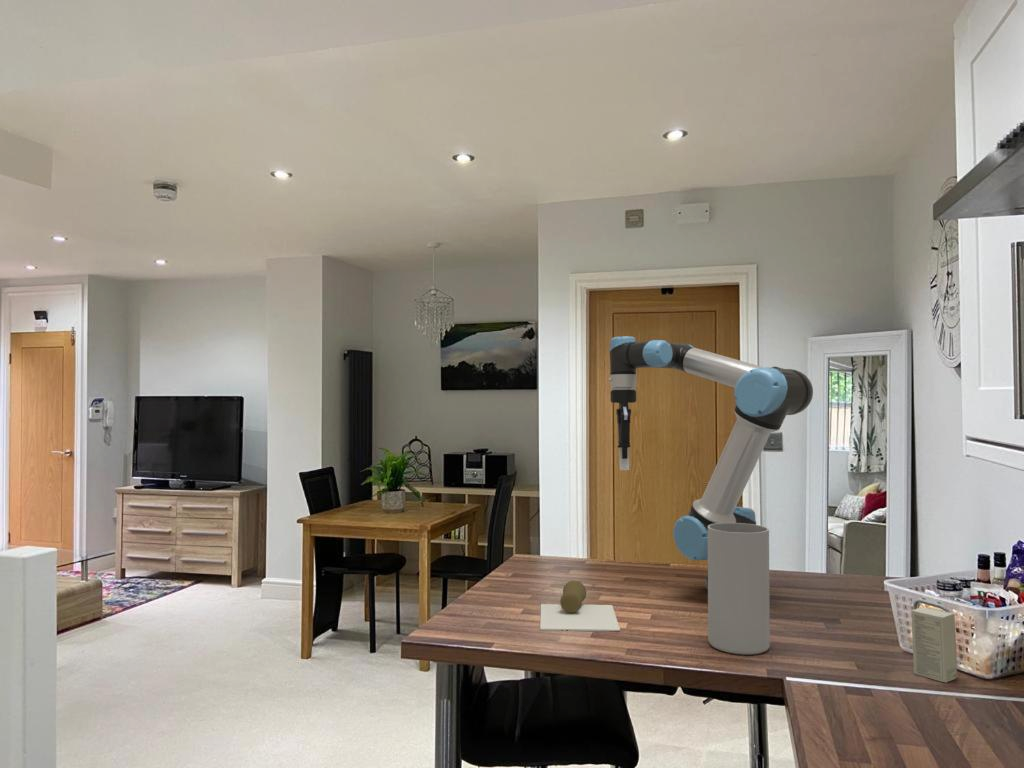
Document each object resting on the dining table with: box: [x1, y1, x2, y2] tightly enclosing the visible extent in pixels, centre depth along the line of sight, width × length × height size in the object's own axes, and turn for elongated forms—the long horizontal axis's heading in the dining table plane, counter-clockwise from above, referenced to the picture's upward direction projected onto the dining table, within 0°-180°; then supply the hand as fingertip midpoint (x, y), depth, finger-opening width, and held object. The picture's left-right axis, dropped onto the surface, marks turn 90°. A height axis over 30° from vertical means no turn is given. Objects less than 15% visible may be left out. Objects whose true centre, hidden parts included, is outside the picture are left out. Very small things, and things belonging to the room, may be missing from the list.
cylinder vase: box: [707, 523, 771, 656], centre depth 156 cm, size 12×12×25 cm
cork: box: [559, 580, 587, 613], centre depth 182 cm, size 6×6×11 cm
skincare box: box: [910, 606, 958, 683], centre depth 138 cm, size 6×4×12 cm
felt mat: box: [539, 603, 621, 632], centre depth 175 cm, size 20×18×1 cm
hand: (624, 469), depth 214 cm, fingers closed
